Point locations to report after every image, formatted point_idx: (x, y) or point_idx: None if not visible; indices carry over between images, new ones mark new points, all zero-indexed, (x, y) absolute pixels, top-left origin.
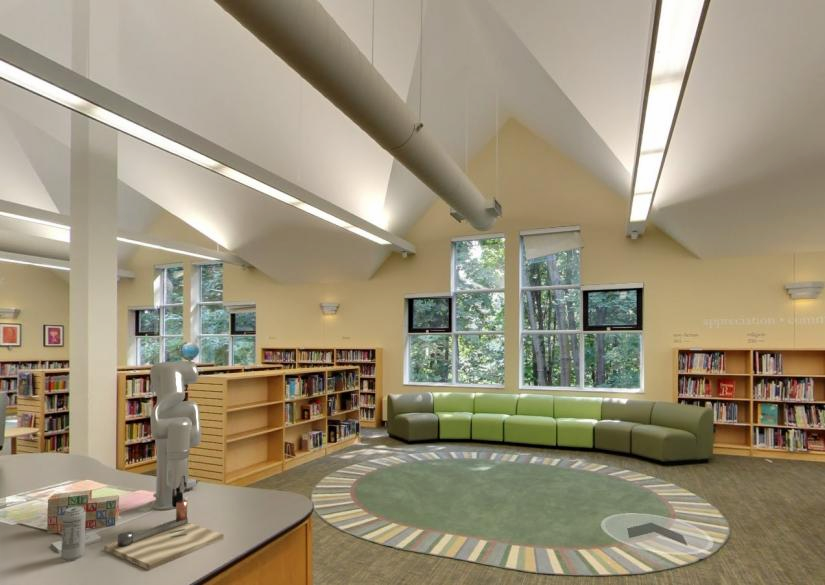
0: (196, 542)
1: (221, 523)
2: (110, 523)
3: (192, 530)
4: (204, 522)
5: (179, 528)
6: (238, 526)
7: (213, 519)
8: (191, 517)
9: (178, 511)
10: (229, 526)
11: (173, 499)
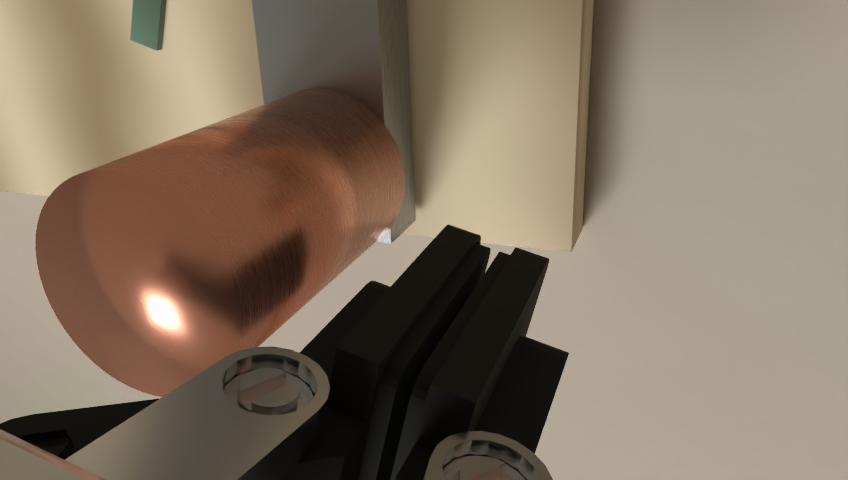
0: None
1: None
2: None
3: (61, 75)
4: None
5: (230, 26)
6: (20, 410)
7: None
8: (623, 454)
9: (197, 129)
10: (66, 386)
11: (390, 300)
